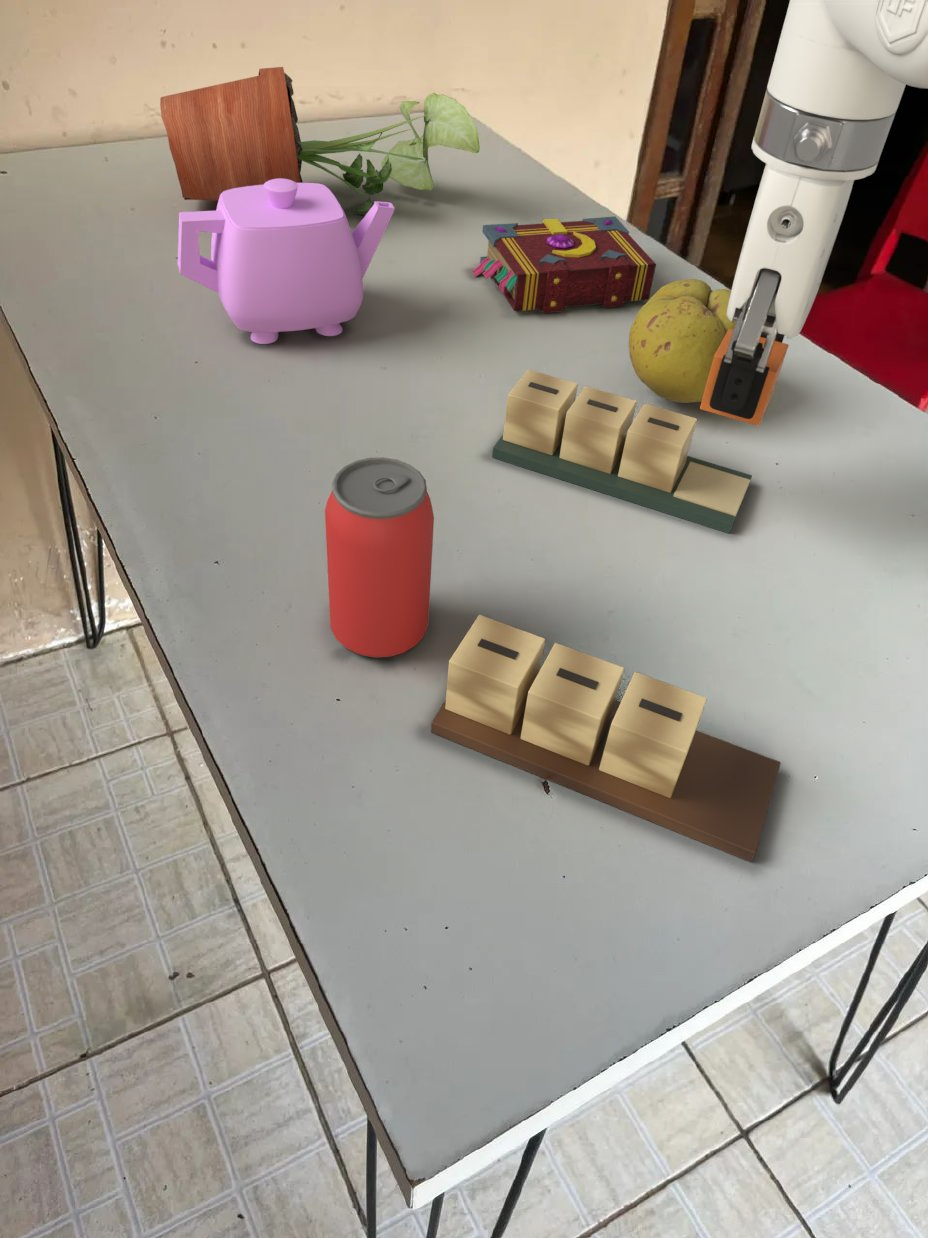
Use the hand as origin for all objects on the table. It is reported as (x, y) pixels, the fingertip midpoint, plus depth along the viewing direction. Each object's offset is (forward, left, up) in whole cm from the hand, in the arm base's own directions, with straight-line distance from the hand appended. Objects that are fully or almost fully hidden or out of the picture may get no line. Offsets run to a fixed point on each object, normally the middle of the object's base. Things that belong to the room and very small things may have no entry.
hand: (739, 392), depth 71 cm
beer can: (+16, +25, -10) cm, 32 cm away
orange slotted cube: (0, 0, -1) cm, 1 cm away
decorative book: (+23, -28, -10) cm, 38 cm away
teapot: (+43, -8, -10) cm, 45 cm away
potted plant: (+53, -33, -10) cm, 63 cm away
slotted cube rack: (+7, 0, -10) cm, 12 cm away
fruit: (+6, -14, -10) cm, 18 cm away
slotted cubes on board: (-1, +28, -10) cm, 30 cm away
